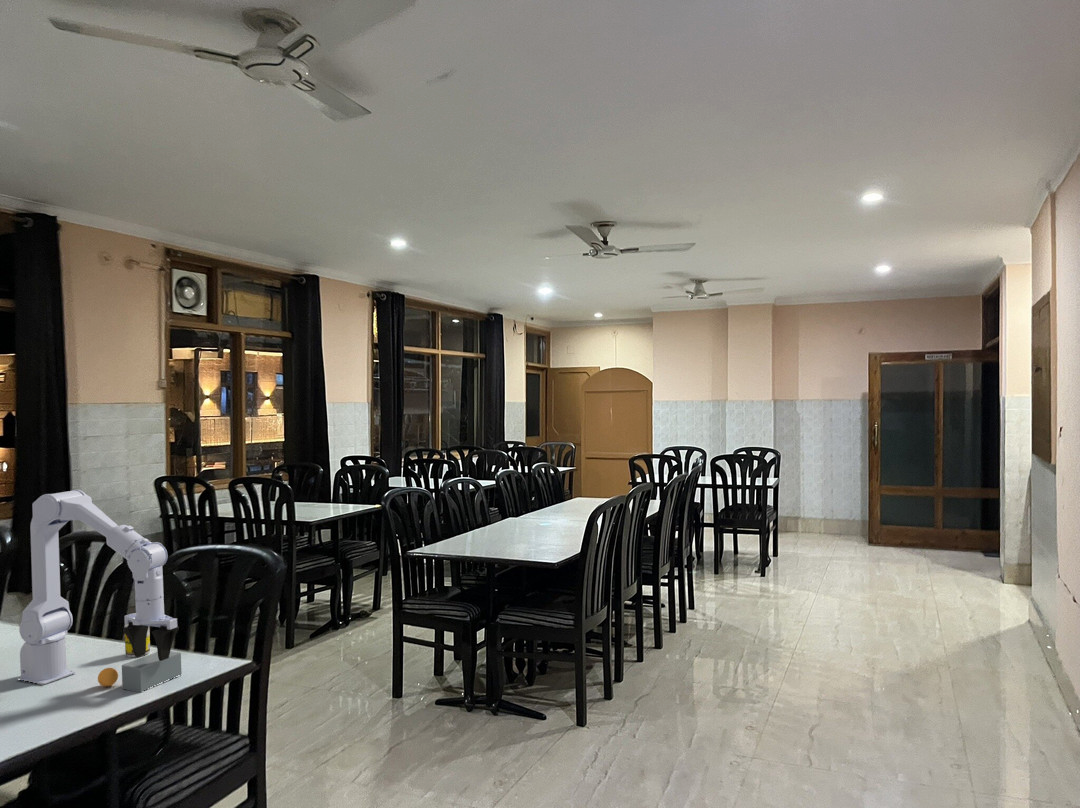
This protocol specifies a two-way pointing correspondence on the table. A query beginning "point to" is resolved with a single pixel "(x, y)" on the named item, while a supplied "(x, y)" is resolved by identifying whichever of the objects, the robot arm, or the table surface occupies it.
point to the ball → (107, 677)
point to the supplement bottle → (129, 648)
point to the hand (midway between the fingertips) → (152, 657)
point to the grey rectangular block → (150, 671)
